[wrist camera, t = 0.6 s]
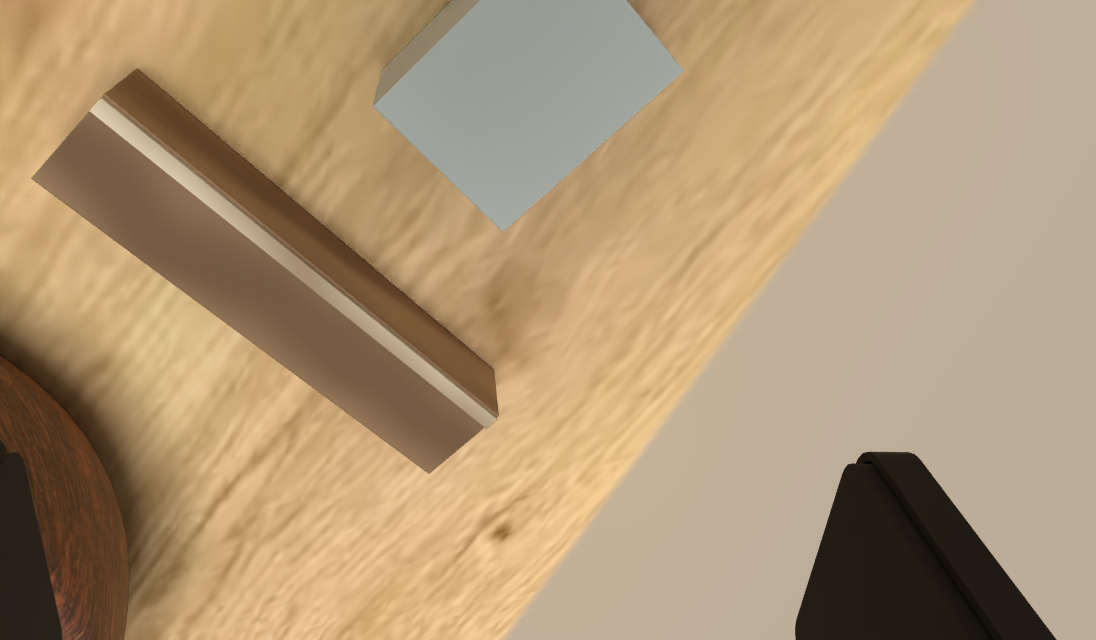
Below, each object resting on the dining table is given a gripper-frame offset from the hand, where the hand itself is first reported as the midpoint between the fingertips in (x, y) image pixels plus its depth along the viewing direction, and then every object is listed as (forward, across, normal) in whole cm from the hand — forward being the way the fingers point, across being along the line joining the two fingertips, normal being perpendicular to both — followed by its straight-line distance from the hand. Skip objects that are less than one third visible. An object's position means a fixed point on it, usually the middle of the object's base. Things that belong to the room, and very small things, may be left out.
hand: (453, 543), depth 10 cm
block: (+26, -3, 0) cm, 26 cm away
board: (+25, +5, +9) cm, 27 cm away
